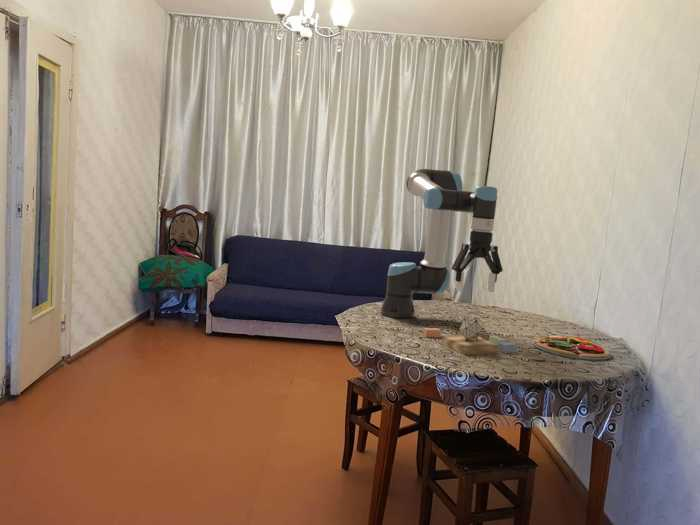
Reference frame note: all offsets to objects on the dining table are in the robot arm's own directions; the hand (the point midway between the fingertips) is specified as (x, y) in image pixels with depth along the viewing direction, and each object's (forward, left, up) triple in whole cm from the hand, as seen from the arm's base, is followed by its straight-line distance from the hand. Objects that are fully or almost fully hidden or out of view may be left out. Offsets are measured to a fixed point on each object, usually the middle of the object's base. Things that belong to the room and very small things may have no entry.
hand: (475, 291), depth 201 cm
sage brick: (-3, +15, -21) cm, 26 cm away
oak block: (0, 0, -21) cm, 21 cm away
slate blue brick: (+5, +13, -21) cm, 25 cm away
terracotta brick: (-18, -4, -21) cm, 28 cm away
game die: (0, 0, -18) cm, 18 cm away
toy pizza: (+7, +42, -21) cm, 48 cm away
